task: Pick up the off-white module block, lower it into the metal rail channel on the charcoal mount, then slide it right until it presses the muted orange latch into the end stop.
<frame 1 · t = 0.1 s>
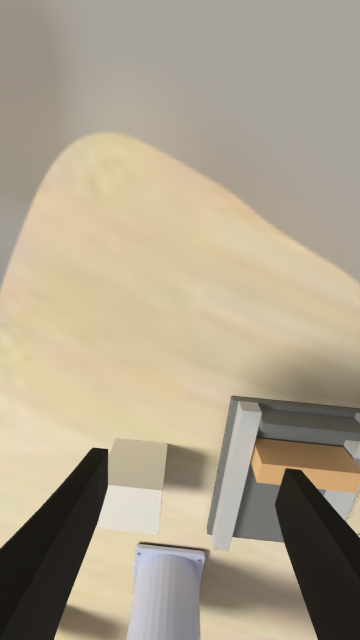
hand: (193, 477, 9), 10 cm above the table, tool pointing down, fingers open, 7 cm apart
module block: (140, 459, 22), on the table
rail mount: (281, 475, 22), on the table
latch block: (301, 463, 18), point 2 cm above the table, slide at 0.0 cm
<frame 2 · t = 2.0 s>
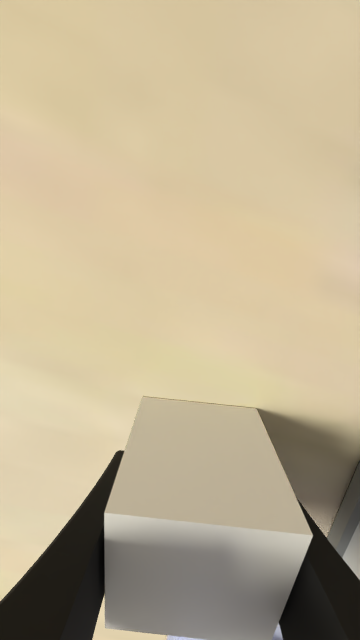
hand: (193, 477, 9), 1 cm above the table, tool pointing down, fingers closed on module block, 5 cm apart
module block: (192, 447, 10), on the table, touching gripper
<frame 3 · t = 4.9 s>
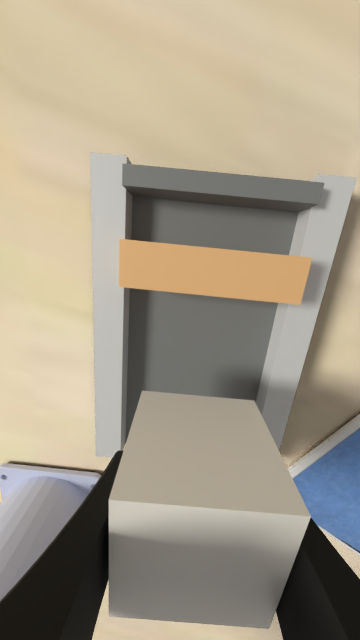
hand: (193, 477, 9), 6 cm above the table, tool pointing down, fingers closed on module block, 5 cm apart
module block: (192, 440, 10), point 4 cm above the table, touching gripper
rail mount: (198, 334, 14), on the table
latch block: (209, 270, 10), point 2 cm above the table, slide at 0.0 cm
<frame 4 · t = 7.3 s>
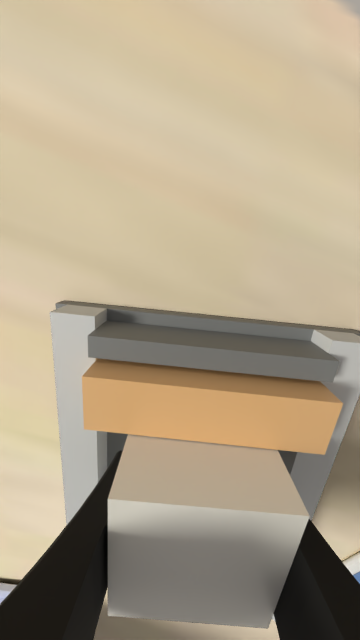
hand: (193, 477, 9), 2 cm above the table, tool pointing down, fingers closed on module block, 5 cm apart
module block: (191, 440, 10), point 1 cm above the table, touching gripper
rail mount: (188, 465, 12), on the table
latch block: (204, 393, 8), point 2 cm above the table, slide at 2.0 cm
when the fingers open (2 cm above the table, at t = 7.6 s): module block stays where it is, resting on rail mount.
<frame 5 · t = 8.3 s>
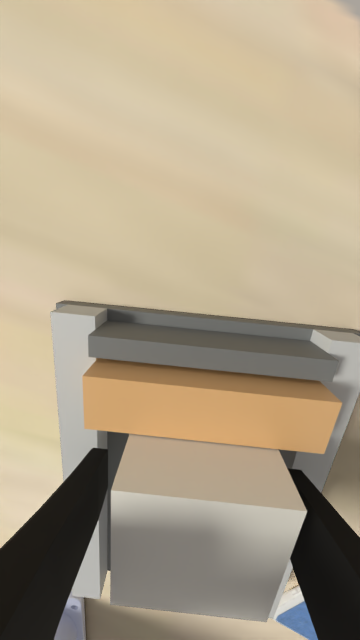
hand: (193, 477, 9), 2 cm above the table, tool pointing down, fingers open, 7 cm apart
module block: (193, 437, 11), point 1 cm above the table, touching rail mount
rail mount: (188, 465, 12), on the table
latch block: (204, 392, 8), point 2 cm above the table, slide at 2.0 cm
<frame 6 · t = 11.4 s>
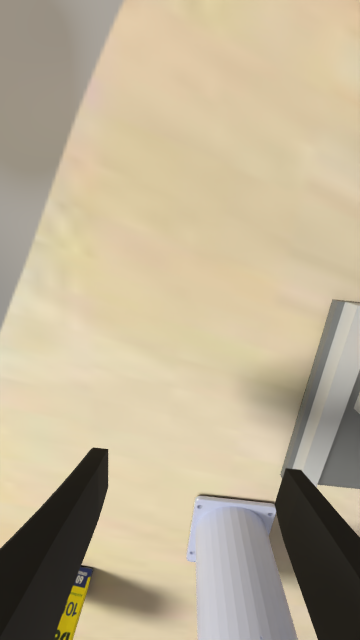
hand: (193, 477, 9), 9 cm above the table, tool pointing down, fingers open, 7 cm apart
supplement box: (67, 573, 27), on the table
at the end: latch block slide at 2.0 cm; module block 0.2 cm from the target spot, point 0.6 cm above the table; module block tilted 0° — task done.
